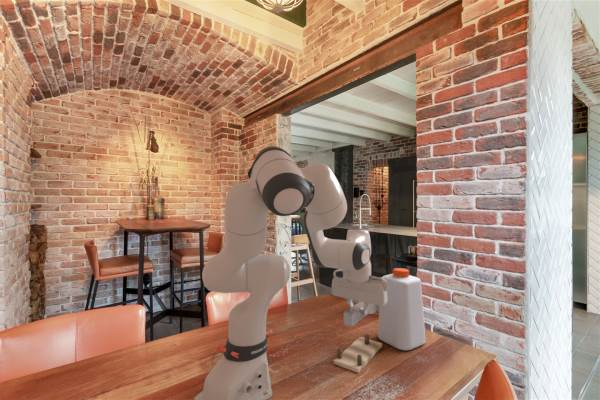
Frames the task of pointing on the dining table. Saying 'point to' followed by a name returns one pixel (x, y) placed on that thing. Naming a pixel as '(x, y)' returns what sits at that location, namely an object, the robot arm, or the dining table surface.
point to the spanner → (357, 313)
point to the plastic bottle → (402, 311)
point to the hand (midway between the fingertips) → (358, 312)
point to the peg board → (357, 354)
